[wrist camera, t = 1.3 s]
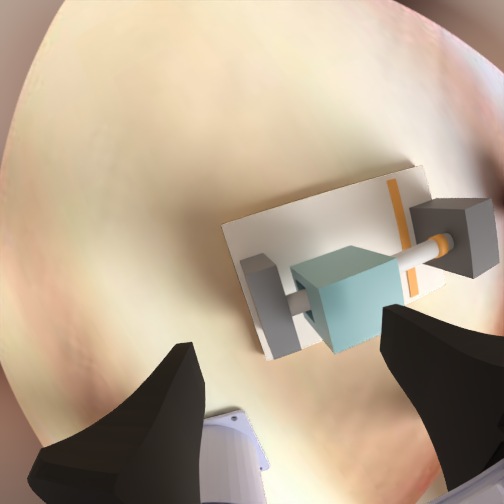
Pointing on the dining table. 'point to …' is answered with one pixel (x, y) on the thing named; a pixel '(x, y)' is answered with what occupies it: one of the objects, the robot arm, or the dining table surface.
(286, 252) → the sliding block rail
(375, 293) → the sleeve
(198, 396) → the robot arm
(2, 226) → the dining table surface
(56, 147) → the dining table surface
